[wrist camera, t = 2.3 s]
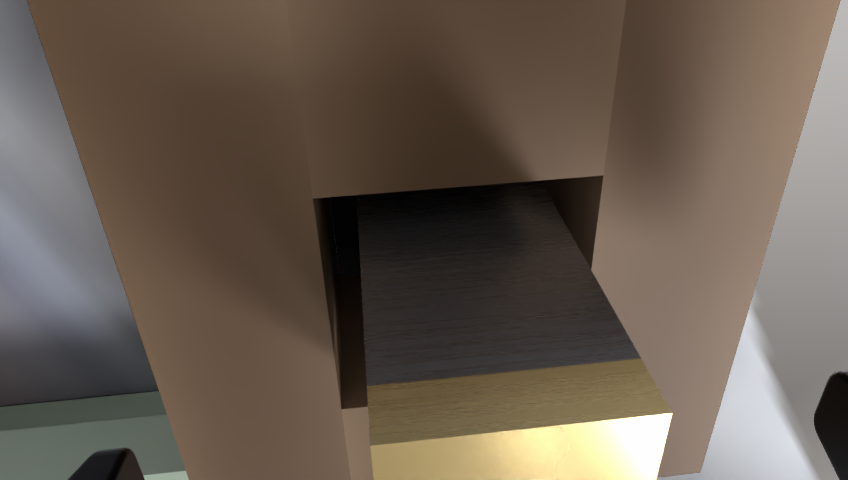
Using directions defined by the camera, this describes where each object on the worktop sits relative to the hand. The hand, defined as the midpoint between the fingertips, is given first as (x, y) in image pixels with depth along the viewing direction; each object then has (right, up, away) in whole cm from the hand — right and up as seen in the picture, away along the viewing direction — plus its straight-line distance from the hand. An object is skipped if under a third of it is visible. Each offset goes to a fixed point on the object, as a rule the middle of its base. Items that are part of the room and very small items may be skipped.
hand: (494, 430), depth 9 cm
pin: (-1, +4, +6) cm, 7 cm away
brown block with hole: (-1, +4, +5) cm, 7 cm away
